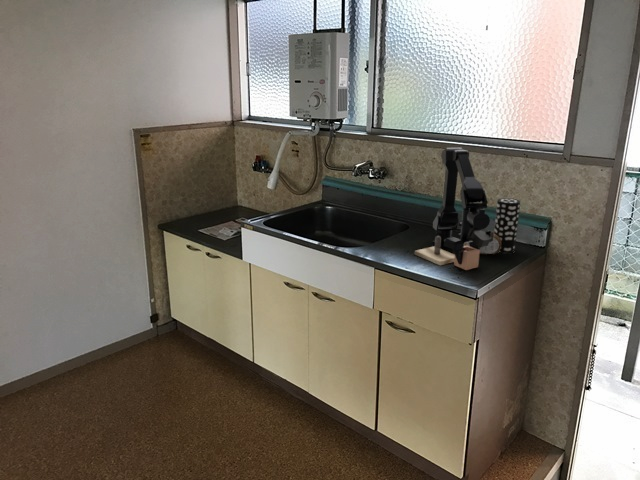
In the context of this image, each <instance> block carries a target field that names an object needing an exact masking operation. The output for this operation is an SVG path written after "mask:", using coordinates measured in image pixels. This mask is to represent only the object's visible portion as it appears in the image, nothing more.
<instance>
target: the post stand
mask: <svg viewBox="0 0 640 480" xmlns="http://www.w3.org/2000/svg"><path fill="white" fill-rule="evenodd" d="M434 241H435V243H434V246H433V245H432V246H430V247H424V248H422V249H421V248H420V249H417V250H414V255H415V256H417V257H420V258H422V259H424V260H427V261H429V262H431V263H434V264H435V265H438V266H443V265H447V264H451V263H454V258H455V254H454V253H451V252H449V251H448V250H447V251H446V250H444V249H442V248H441V247H442V246H441V237H440V236H436V237H434Z"/></svg>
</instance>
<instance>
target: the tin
mask: <svg viewBox="0 0 640 480" xmlns="http://www.w3.org/2000/svg"><path fill="white" fill-rule="evenodd" d="M465 241H466V240H465ZM467 245H468V246H469V243H465V244H464V246H467ZM500 248H501V239H500V238H499V236H497V235H496V234H493V241H492V242H489V244H488V246H483V247H481V248H480V253H479V255H487V254H493V255H495V254H497V253H499V252H498V251H499V250H500Z"/></svg>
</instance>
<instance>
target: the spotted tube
mask: <svg viewBox="0 0 640 480" xmlns="http://www.w3.org/2000/svg"><path fill="white" fill-rule="evenodd" d="M520 208H521V200H519V199H515V198H509V197H508V198H507V197H505V198H504V197H503V198H499V199H497V204H496V211H495V221H494V222H495V223H494V230H493V233H494V234H496V235H497V236H499V238H500V239H501V248H500V250H499V252H512V251H514V250H516V242H517V233H518V227H519V225H518V224H519V217H520ZM499 252H498V253H499ZM514 252H515V251H514Z"/></svg>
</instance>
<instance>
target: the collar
mask: <svg viewBox="0 0 640 480" xmlns="http://www.w3.org/2000/svg"><path fill="white" fill-rule="evenodd" d="M464 248H467V249H466V250H465V251H464V252H463V259H462V264H461V265H460V264H458V261H457V259H456V256H455V258H454V262H453V266H456V267H458V268H460V269H462V270H464V271H469V270H472V269H476V268H479V263H480V262H479V261H480V254H479V253H480V250H478V249H476V248H473V247H470V246H468V245H467V246H464Z"/></svg>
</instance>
